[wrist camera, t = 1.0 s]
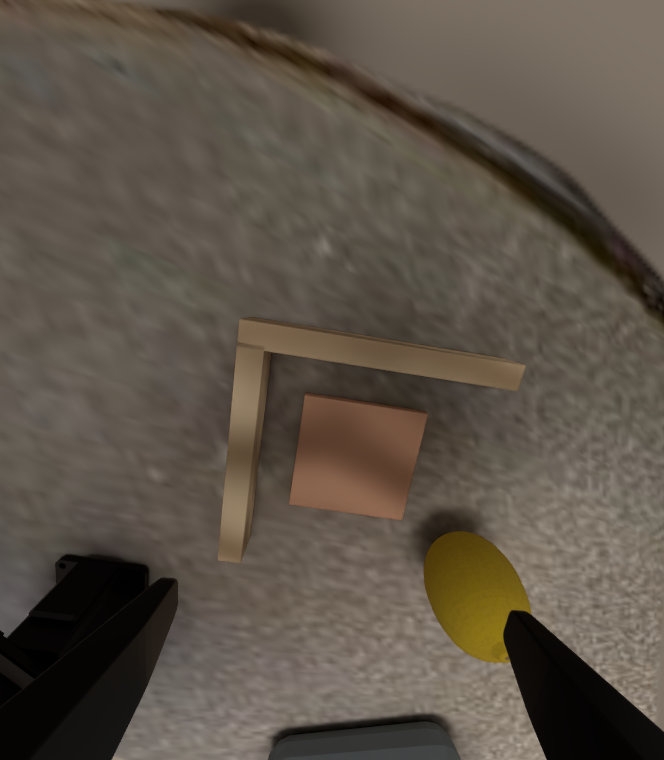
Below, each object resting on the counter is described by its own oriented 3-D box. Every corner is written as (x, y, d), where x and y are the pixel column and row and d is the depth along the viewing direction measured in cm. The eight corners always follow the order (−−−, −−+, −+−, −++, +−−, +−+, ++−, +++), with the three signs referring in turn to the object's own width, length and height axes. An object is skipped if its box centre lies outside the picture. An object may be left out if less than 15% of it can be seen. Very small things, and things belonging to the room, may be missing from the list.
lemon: (473, 575, 24) (540, 707, 16) (402, 563, 24) (437, 691, 16) (496, 514, 23) (582, 624, 15) (422, 500, 22) (470, 605, 15)
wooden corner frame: (442, 561, 24) (454, 591, 21) (229, 532, 23) (217, 560, 21) (502, 357, 20) (525, 365, 17) (251, 317, 19) (239, 319, 17)
